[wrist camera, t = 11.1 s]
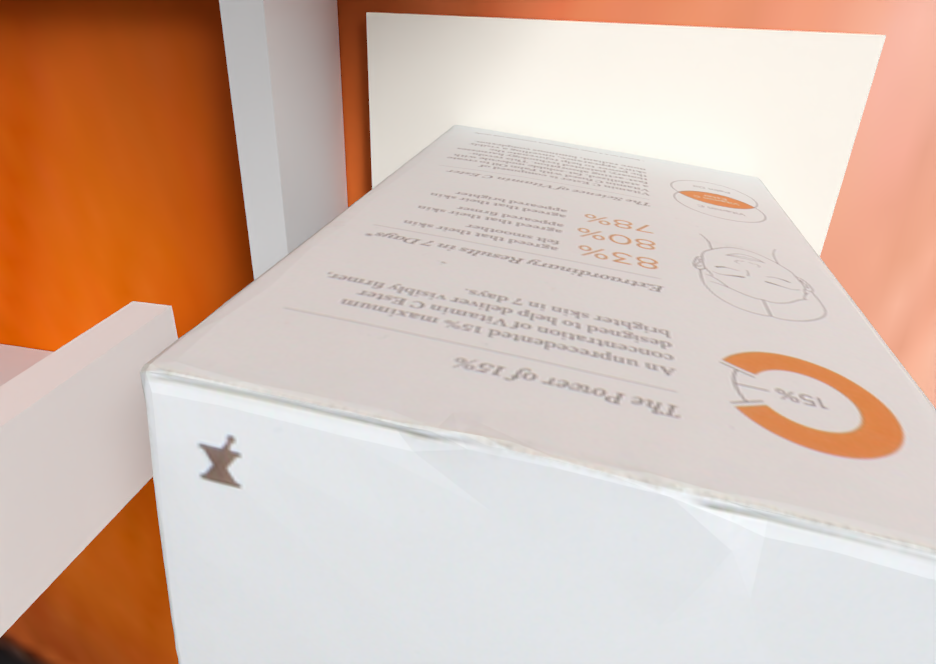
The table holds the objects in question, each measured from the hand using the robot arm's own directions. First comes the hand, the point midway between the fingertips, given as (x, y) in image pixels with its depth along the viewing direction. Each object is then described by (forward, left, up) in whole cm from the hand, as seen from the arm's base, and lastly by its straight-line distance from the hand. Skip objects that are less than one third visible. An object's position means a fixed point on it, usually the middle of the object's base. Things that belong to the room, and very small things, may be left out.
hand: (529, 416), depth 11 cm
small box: (0, 0, -8) cm, 8 cm away
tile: (0, 0, -8) cm, 9 cm away
